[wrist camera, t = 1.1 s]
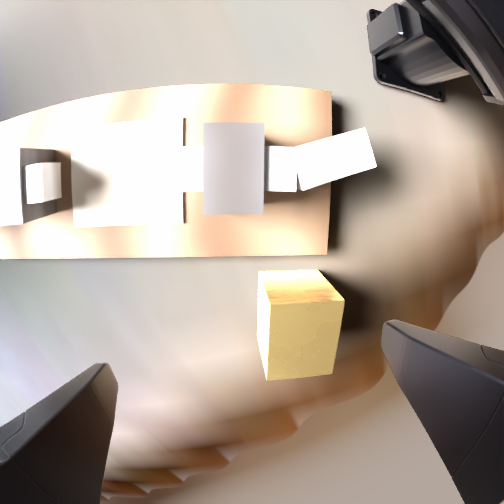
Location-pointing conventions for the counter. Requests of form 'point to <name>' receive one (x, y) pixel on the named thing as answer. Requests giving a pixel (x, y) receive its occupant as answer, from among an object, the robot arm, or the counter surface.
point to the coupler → (297, 323)
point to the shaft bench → (201, 230)
